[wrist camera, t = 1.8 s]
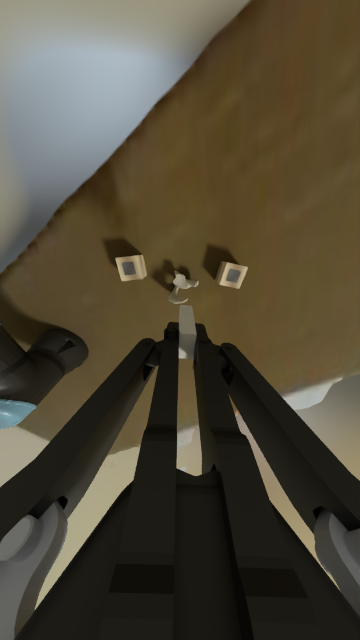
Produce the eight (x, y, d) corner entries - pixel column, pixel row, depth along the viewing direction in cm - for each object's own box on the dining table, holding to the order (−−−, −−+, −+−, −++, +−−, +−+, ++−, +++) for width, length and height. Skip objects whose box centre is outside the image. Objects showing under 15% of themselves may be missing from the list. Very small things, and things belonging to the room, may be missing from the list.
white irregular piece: (189, 257, 33) (200, 286, 28) (197, 275, 38) (207, 303, 33) (159, 273, 36) (163, 302, 30) (170, 288, 41) (176, 316, 35)
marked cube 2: (128, 277, 37) (121, 281, 32) (123, 257, 35) (114, 258, 30) (147, 275, 37) (142, 278, 32) (142, 254, 35) (137, 255, 30)
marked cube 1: (214, 280, 37) (219, 284, 33) (221, 260, 35) (227, 262, 31) (232, 284, 38) (239, 289, 33) (239, 265, 36) (248, 267, 31)
